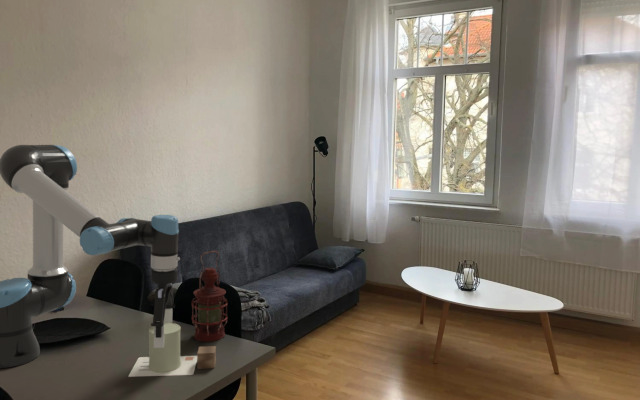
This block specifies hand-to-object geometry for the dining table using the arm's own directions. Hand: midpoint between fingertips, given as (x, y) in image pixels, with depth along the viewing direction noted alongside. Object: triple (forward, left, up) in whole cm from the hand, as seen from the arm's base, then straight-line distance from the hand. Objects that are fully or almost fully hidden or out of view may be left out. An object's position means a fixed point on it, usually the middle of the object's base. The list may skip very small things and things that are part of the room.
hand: (163, 337), depth 149 cm
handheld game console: (-53, +59, -9) cm, 80 cm away
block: (+13, 0, -9) cm, 16 cm away
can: (0, 0, -9) cm, 9 cm away
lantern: (+11, +23, -9) cm, 27 cm away
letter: (0, 0, -9) cm, 9 cm away
